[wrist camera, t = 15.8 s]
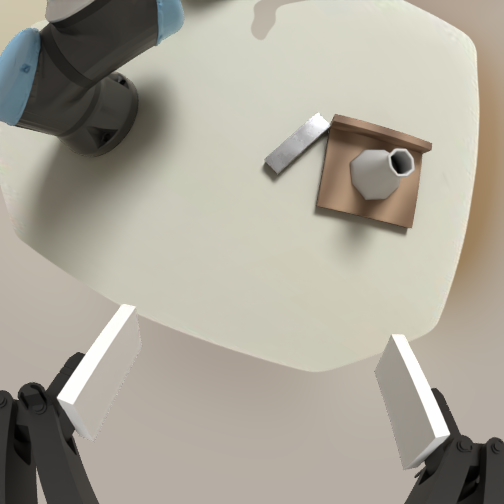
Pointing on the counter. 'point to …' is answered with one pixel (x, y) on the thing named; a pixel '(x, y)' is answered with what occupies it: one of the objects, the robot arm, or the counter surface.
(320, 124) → the grey rectangular bar
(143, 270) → the counter surface
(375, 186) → the flask
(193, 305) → the counter surface
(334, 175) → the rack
